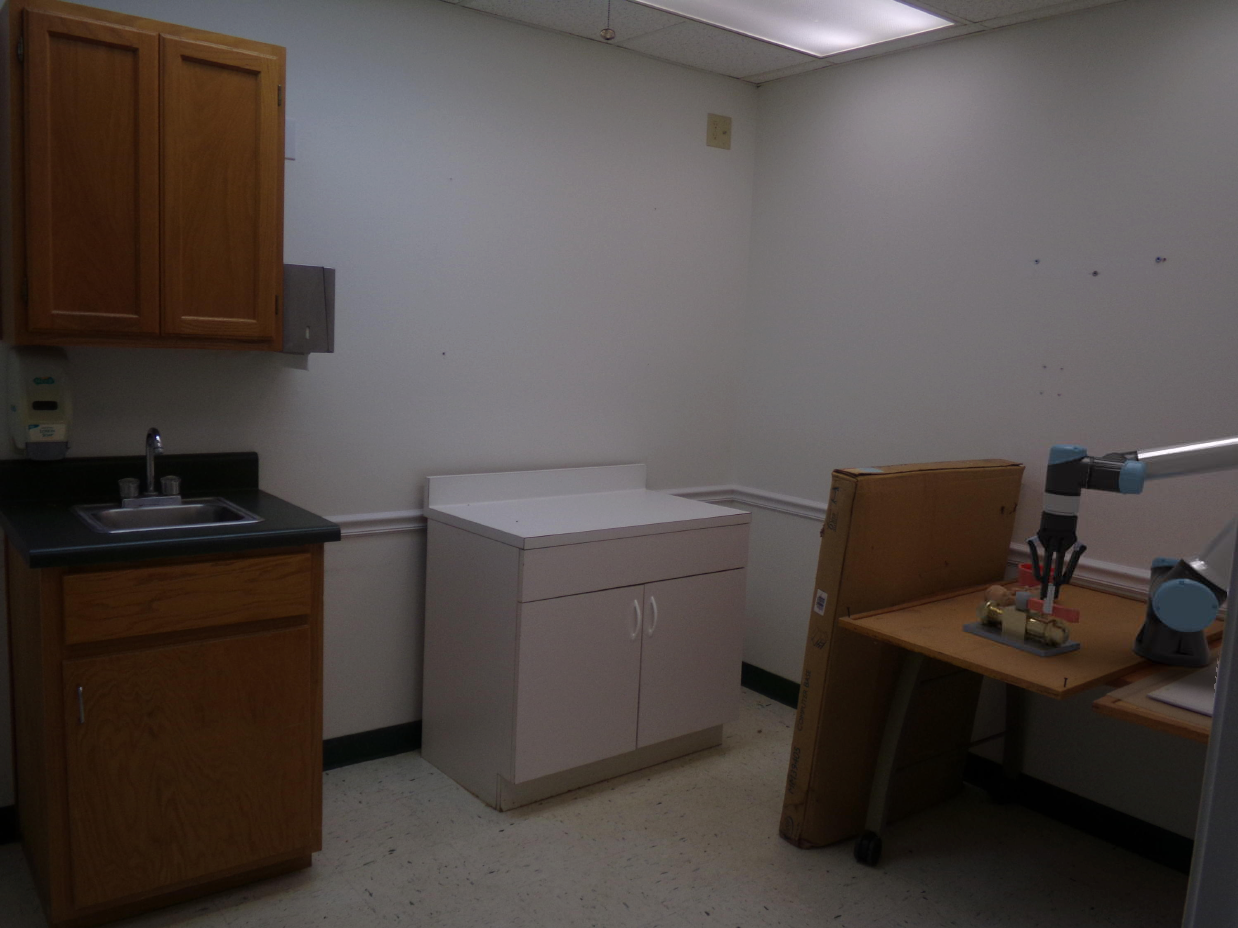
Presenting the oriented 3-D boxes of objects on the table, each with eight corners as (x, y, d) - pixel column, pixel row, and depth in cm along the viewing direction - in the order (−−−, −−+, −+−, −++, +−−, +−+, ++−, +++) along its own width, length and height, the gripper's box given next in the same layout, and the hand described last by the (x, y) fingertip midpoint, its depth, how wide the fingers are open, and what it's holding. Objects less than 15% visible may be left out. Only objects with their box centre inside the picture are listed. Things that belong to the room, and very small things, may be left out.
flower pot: (1064, 607, 251) (1068, 573, 250) (1024, 605, 251) (1028, 571, 250) (1047, 597, 262) (1050, 564, 260) (1009, 595, 262) (1012, 562, 260)
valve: (1079, 648, 214) (1083, 617, 214) (1044, 657, 207) (1047, 625, 206) (997, 623, 233) (1000, 594, 232) (962, 630, 226) (965, 600, 225)
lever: (1021, 605, 221) (1022, 590, 221) (1082, 623, 208) (1084, 608, 207) (1011, 606, 220) (1012, 592, 219) (1072, 625, 206) (1074, 610, 205)
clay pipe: (998, 641, 230) (1061, 630, 226) (988, 601, 230) (1051, 589, 225) (988, 618, 248) (1046, 608, 244) (979, 581, 248) (1037, 570, 243)
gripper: (1085, 512, 210) (1072, 610, 213) (1026, 506, 213) (1014, 604, 216) (1095, 517, 202) (1081, 619, 206) (1033, 511, 205) (1020, 612, 208)
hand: (1047, 611), depth 211 cm, fingers closed
